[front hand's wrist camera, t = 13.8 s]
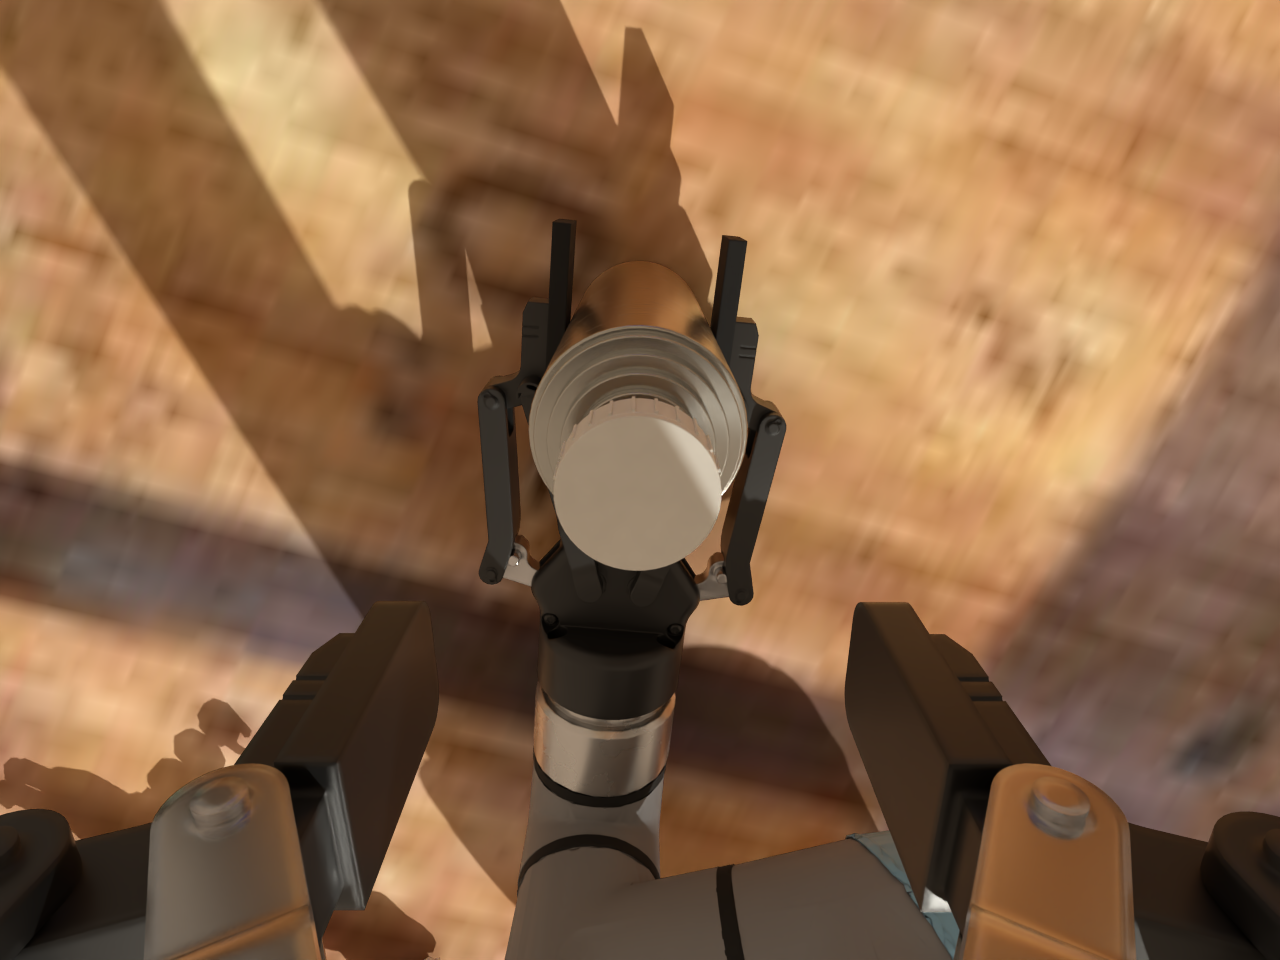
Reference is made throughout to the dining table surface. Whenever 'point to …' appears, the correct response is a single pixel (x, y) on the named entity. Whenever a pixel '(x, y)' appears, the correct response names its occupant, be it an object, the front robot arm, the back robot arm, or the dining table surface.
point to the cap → (637, 484)
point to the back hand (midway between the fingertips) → (649, 230)
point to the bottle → (638, 365)
